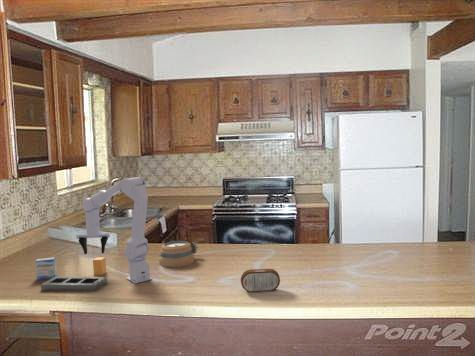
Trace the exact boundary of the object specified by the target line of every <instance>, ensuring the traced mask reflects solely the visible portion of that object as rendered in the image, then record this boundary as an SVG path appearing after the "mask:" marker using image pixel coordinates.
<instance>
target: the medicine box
mask: <svg viewBox="0 0 475 356" xmlns="http://www.w3.org/2000/svg"><path fill="white" fill-rule="evenodd" d="M35 270H36V280H37V281H40V280H41V281H42V280H50V279H52V278H53V277H58V268H57V257H56V256H54V257H44V258H43V257H42V258H38V259H36V260H35Z"/></svg>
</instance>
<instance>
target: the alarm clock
mask: <svg viewBox="0 0 475 356" xmlns="http://www.w3.org/2000/svg"><path fill="white" fill-rule="evenodd" d="M160 248H161V249H160V255H158V263H159V265H160V266H162V267H165V268H179V267H185V266H189V265H191V264H193V263H194V262H195V254H196V253H197V252H198V248H199V246H197V244H196V243H195V242H194V241H192V242H189V241H185V240H172V241H169V242H165V243H164V244H162V245H161V247H160Z"/></svg>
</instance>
